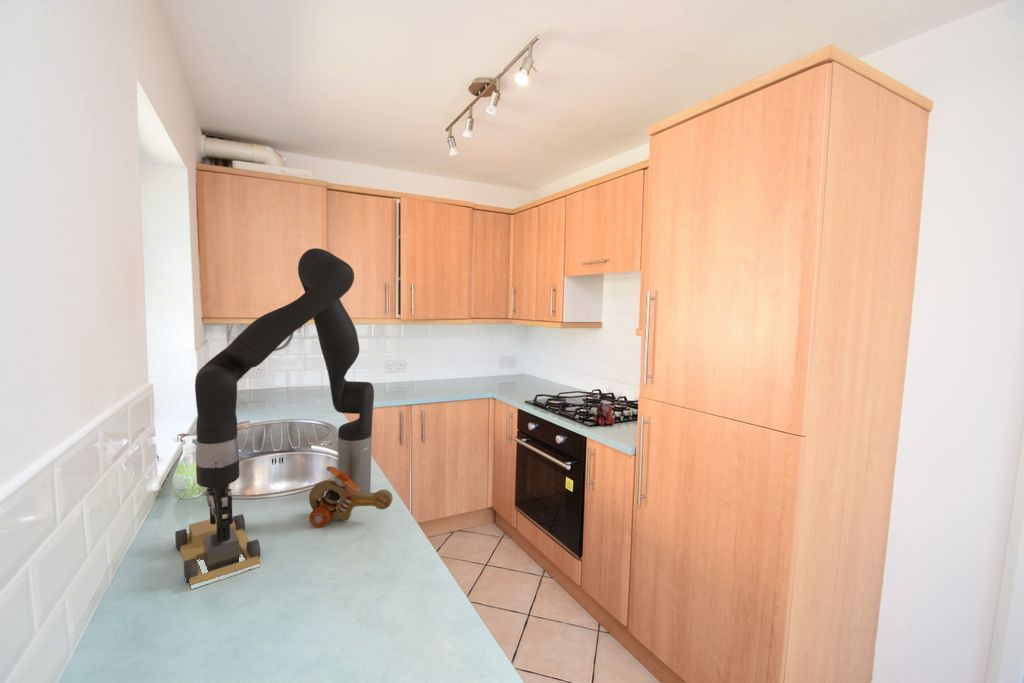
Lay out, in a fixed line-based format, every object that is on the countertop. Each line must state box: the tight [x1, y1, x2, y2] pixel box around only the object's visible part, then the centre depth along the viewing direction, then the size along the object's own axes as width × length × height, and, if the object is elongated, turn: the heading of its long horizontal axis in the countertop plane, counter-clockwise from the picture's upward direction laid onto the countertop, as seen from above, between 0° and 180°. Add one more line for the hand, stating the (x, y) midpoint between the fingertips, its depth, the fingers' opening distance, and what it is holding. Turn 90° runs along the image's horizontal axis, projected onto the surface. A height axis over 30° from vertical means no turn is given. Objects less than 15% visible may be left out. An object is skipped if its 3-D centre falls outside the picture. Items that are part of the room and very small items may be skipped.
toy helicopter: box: [308, 465, 394, 528], centre depth 115 cm, size 8×21×14 cm, turn 95°
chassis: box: [174, 513, 261, 585], centre depth 98 cm, size 21×13×4 cm, turn 43°
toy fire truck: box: [593, 401, 615, 427], centre depth 217 cm, size 7×12×10 cm, turn 17°
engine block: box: [204, 529, 239, 572], centre depth 94 cm, size 6×6×6 cm
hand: (219, 531), depth 94 cm, fingers open, 8 cm apart
